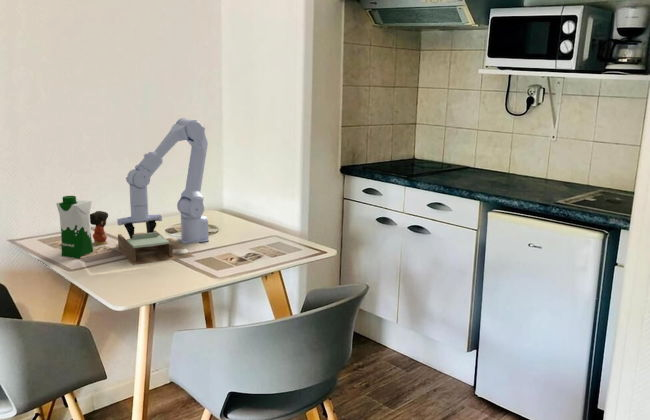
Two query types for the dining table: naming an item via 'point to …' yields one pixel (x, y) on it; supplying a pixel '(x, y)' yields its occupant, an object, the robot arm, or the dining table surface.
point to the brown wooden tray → (152, 251)
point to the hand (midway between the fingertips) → (141, 243)
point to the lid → (147, 240)
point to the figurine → (99, 227)
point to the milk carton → (75, 227)
